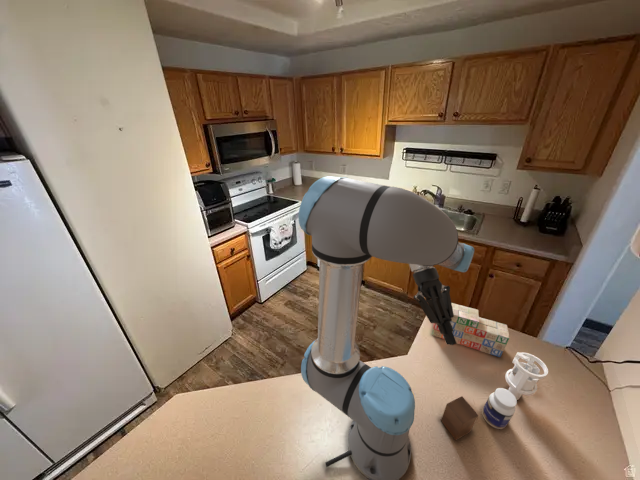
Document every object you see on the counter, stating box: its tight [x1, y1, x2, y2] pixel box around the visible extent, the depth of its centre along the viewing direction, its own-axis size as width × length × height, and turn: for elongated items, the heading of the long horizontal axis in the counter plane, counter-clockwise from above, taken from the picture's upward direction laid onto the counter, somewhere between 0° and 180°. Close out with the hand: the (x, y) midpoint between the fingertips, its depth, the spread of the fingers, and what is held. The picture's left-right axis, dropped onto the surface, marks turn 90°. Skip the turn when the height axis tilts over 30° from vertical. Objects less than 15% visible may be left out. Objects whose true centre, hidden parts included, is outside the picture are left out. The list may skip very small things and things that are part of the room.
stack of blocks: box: [431, 302, 510, 358], centre depth 89 cm, size 21×6×12 cm, turn 63°
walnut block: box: [440, 396, 479, 441], centre depth 66 cm, size 5×5×8 cm
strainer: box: [504, 351, 549, 400], centre depth 71 cm, size 7×7×15 cm
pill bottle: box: [481, 387, 518, 430], centre depth 67 cm, size 6×6×10 cm
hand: (451, 343), depth 79 cm, fingers closed
